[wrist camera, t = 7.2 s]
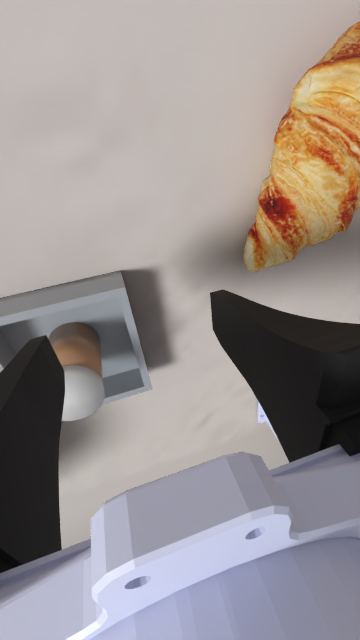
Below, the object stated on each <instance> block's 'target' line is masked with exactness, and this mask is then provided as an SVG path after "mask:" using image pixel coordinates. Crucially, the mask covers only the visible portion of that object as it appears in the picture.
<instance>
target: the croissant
mask: <svg viewBox="0 0 360 640" xmlns="http://www.w3.org/2000/svg"><path fill="white" fill-rule="evenodd" d="M273 143H275V146H274V151H273V155H272V159H271V165H270V166H269V168H270V175H269V177H268V178H266V179H265V180H264V181H263V184H262V188H261V192H260V195H259V197H258V210H257V213H256V216H255V218H256V222H255V224H254V225H253V226H252V228H251V229H250V230H249V233H248V237H247V241H246V244H245V248H244V263H245V264H246V266H247V269H248V271H252V272H257V271H259V270H260V269H261V268H265V267H267V268H269V267H271V266H273V265H274V264H275V265H280V264H282V263H283V262H284V261H290V260H292V259H294V258H295V255H296V253H297V252H298V251H299V250H300V249H302V248H304V247H305V246H307V245H308V246H312V245H315V244H316V243H319V242H322V241H326V240H328V239H330V238H331V237H332V236H333V235H335V234H336V233H337V232H340V231H345V230H346V229H347V228H348V226H349V224H350V222H351V220H352V217H353V214H354V212H355V211H356V210H357V209H358V208H359V207H360V22H358V23H356V24H355V25H353V26H352V27H350V28H349V29H348V30H347V31H346V32H345V33H344V34H343V35H342V36H341V37H340V38H339V39H338V40H337V42H336V43H335V45H334V46H333V47H332V48H331V49H330V50H329V51H328V52H327V54H326V55H325V56H324V57H323V59H322V60H321V61H320V62H319V63H317V64H316V65H315V66H313V67H312V68H310V69H309V70H308V71H307V72H306V73H305V75H304V76H303V77H302V79H301V80H300V81H299V83H298V84H297V85H296V87H295V88H294V90H293V96H292V101H291V103H290V106H289V109H288V112H287V113H286V114H285V116H284V117H283V118H282V120H281V122H280V124H279V127H278V130H277V132H276V135H275V138H274V142H273Z"/></svg>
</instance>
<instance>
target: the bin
mask: <svg viewBox="0 0 360 640" xmlns="http://www.w3.org/2000/svg"><path fill="white" fill-rule="evenodd" d="M72 322H76V323H83V324H86V325H88V326H90V327H92V328H93V329H94V330H95V331H96V332H97V333H98V335H99V337H100V345H101V360H102V376H103V383H104V394H105V396H104V401H103V403H102V405H103V404H106V403H109V402H112V401H116V400H119V399H122V398H125V397H129V396H132V395H135V394H138V393H142V392H145V391H148V390H152V385H151V382H150V378H149V374H148V370H147V367H146V363H145V359H144V356H143V352H142V348H141V344H140V341H139V337H138V333H137V329H136V326H135V322H134V318H133V314H132V311H131V307H130V303H129V300H128V296H127V292H126V288H125V285H124V281H123V277H122V274H121V271H117V272H112V273H108V274H104V275H99V276H95V277H90V278H86V279H82V280H77V281H73V282H69V283H64V284H60V285H56V286H51V287H47V288H43V289H38V290H34V291H30V292H25V293H21V294H17V295H12V296H8V297H4V298H0V372H1V371H2V370H3V369H4V368H5V367H6V366H7V365H8V363H9V362H10V361H11V360H12V359H13V358H14V357H15V356H16V354H17V353H18V352H19V351H20V350H21V349H22V348H23V346H24V345H25V344H26V343H27V342H28V341H29V340H30V339H33V338H36V337H40V336H44V335H47V337H49V335H50V333H51V332H52V331H53V330H54V329H55V328H57V327H58V326H60V325H62V324H66V323H72Z"/></svg>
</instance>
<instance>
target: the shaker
mask: <svg viewBox="0 0 360 640" xmlns="http://www.w3.org/2000/svg"><path fill="white" fill-rule="evenodd" d="M48 339H49V341H50V343H51V345H52V347H53V349H54V351H55V353H56V355H57V357H58V359H59V361H60V363H61V365H62V367H63V369H64V373H65V397H64V406H63V414H62V421H74V420H79V419H82V418H85V417H87V416H89V415H91V414H93V413H94V412H96V411H97V410H98V409H99V408H100V406H101V405H102V403H103V401H104V396H105V394H104V383H103V376H102V360H101V345H100V337H99V335H98V333H97V332H96V331H95V330H94V329H93V328H92V327H90V326H88V325H86V324H83V323H76V322H72V323H66V324H62V325H60V326H58V327H57V328H55V329H54V330H53V331H52V332H51V333H50V335H49V337H48Z"/></svg>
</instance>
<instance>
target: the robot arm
mask: <svg viewBox="0 0 360 640" xmlns="http://www.w3.org/2000/svg"><path fill="white" fill-rule="evenodd" d="M210 297H211V310H212V324H213V330H214V332H215V334H216V336H217V338H218V340H219V342H220V344H221V346H222V347H223V349H224V350H225V352H226V353H227V355H228V356H229V357H230V359H231V360H232V362H233V363H234V364H235V366H236V367H237V368H238V370H239V371H240V373H241V374H242V375H243V377H244V378H245V380H246V381H247V383H248V384H249V386H250V387H251V389H252V391H253V392H254V394H255V396H256V398H257V400H258V414H257V421H258V422H259V423H263V422H267V424H268V425H269V427H270V428H271V430H272V431H273V433H274V435H275V436H276V437H277V439H278V441H279V442H280V444H281V446H282V447H283V450H284V452H285V454H286V456H287V458H288V460H289V462H290V463H288V464H286V465H283V466H280V467H277V468H275V469H272V470H270V471H269V470H268V468H267V467H266V465H265V463H264V461H263V459H262V458H261V456H258V455H253V454H249V453H245V452H239V453H234V454H229V455H224V456H221V457H218V458H216V459H213V460H210V461H207V462H204V463H202V464H199V465H196V466H193V467H191V468H188V469H185V470H182V471H180V472H177V473H174V474H171V475H168V476H166V477H163V478H160V479H158V480H155V481H152V482H149V483H146V484H144V485H141V486H138V487H135V488H133V489H130V490H127V491H125V492H123V493H121V494H119V495H117V496H115V497H113V498H112V499H110V500H108V501H106V502H105V504H104V505H103V506H102V507H101V508H100V509H99V510H98V511H97V513H96V514H95V515H94V516H93V517H92V518H91V539H89V540H86V541H84V542H81V543H78V544H76V545H73V546H71V547H68V548H65V549H63V550H62V549H61V535H60V514H59V479H58V460H59V439H60V430H61V422H62V414H63V406H64V397H65V373H64V369H63V367H62V365H61V363H60V361H59V359H58V357H57V355H56V353H55V351H54V349H53V347H52V345H51V343H50V341H49V339H48V337H47V335H44V336H40V337H36V338H33V339H30V340H29V341H28V342H27V343H26V344H25V345H24V346H23V348H22V349H21V350H20V351H19V352H18V353H17V354H16V356H15V357H14V358H13V359H12V360H11V361H10V362H9V363H8V365H7V366H6V367H5V368H4V369H3V370H2V371H1V372H0V640H360V324H351V323H340V322H332V321H324V320H318V319H312V318H307V317H302V316H298V315H294V314H290V313H286V312H282V311H279V310H276V309H273V308H270V307H267V306H264V305H261V304H258V303H256V302H253V301H251V300H248V299H246V298H243V297H241V296H238V295H236V294H234V293H231V292H228V291H226V290H220V291H216V292H212V293H210Z"/></svg>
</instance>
